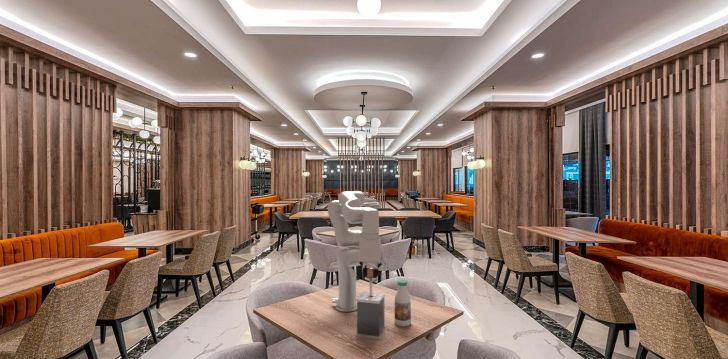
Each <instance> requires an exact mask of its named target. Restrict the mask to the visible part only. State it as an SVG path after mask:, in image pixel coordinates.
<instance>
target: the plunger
mask: <svg viewBox="0 0 728 359" xmlns="http://www.w3.org/2000/svg"><path fill="white" fill-rule="evenodd" d="M367 267H368V268H366V277H365V278H366V279H369V292H370V297H372V292H373V279H375V278H374V269H375V266H374V267H373V266H370V267H369V266H367Z"/></svg>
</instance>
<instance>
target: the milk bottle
mask: <svg viewBox="0 0 728 359" xmlns="http://www.w3.org/2000/svg"><path fill="white" fill-rule="evenodd" d="M396 290H397V291H396V293H395V295H394V306H393V307H394V309H393V310H394V324H395V325H396V326H398V327H409V326H410V325H411V322H412V309H411V308H412V307H411V302H412V301H411V296H410V293H409V291H408V281H407V280H405V279H404V280H403V279H399V280H398V281H397V289H396Z"/></svg>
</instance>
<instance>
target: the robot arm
mask: <svg viewBox="0 0 728 359" xmlns="http://www.w3.org/2000/svg"><path fill="white" fill-rule="evenodd" d="M365 202H366V197H365V194H364V193H363V192H362V191H359V190H353V191H352V190H351V191H350V190H346V191H342V192H341V193H340V194H339V195H338V197H337V200H331V201H330V202H329V203H328V205H327V214H328V218H329V219H330V222H331V223H332V226H333V231H334V237H335V241H336V244H337V246H338V247H339V248H341V249H340V250H338V251H337V254H336V261H337V268H338V270H337V271H338V298H336V297H332V299H331V302H332V304H335V309H336V310H337V311H339V312H345V313H348V312H349V313H351V312H355V311H357V301H356V299H357V274H356V271H355V270H354V269H353V267H358V266H360V267H361V268H362V274H363V277H364V278H367V277H366V268H368V267H369V266H367V265H368V263H370V264H373V263H374V268H375V269H374V278H373V279H377V278H378V276H379V274H380V273H379V268H380V267H382V266H383V265H384V264H386V262H387V260H386V259H385V257H384V255H383V248H382V241H381V238H380V214H379V213H380V212H379V210H378V209H377V208H373V207H370V206H368V207H363V206H364V205H365ZM349 224H351V225H356V224H361V225H362V226H361V228H362V229H361V230H359V229H350V228H349V227H350V226H349Z"/></svg>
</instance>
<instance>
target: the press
mask: <svg viewBox="0 0 728 359" xmlns="http://www.w3.org/2000/svg"><path fill="white" fill-rule="evenodd" d="M385 296H386V293H381V292H373V291H372V297H370V291H362V292H361V294H359V296H358V297H356V303H357V310H356V337H361V338H367V339H373V340H374V339H375V340H380V339H381V337H382V336H383V334H384V332H385V330H386V326H385V318H386V317H385V315H386V314H385Z"/></svg>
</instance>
